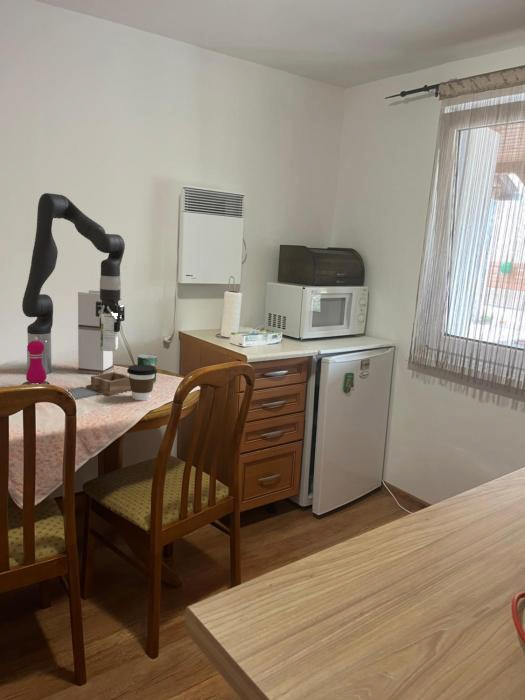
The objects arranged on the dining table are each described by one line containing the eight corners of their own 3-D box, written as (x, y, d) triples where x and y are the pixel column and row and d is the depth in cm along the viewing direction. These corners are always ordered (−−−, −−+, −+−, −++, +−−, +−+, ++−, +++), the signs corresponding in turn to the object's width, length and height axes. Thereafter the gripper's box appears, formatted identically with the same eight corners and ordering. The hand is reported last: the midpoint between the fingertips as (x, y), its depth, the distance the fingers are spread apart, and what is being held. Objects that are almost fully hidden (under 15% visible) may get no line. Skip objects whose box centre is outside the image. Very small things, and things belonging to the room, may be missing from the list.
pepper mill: (50, 386, 209) (49, 336, 205) (40, 391, 202) (39, 339, 198) (32, 384, 209) (31, 334, 205) (22, 389, 202) (21, 337, 198)
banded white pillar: (113, 369, 240) (114, 292, 233) (103, 375, 230) (103, 294, 223) (89, 367, 242) (89, 290, 235) (78, 372, 232) (78, 292, 225)
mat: (56, 393, 200) (56, 392, 200) (81, 388, 209) (81, 386, 209) (74, 400, 194) (74, 398, 194) (99, 394, 202) (99, 392, 202)
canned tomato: (133, 381, 223) (133, 355, 221) (145, 377, 230) (145, 353, 228) (147, 384, 220) (148, 358, 217) (160, 381, 226) (160, 355, 224)
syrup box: (103, 347, 209) (103, 311, 206) (118, 348, 210) (118, 312, 207) (100, 350, 204) (100, 313, 201) (116, 351, 204) (116, 314, 201)
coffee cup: (124, 394, 204) (125, 364, 201) (153, 393, 208) (154, 363, 205) (128, 403, 194) (129, 371, 191) (158, 401, 198) (159, 370, 196)
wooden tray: (86, 388, 209) (86, 376, 208) (114, 382, 220) (115, 370, 219) (109, 396, 201) (109, 383, 200) (137, 389, 212) (138, 377, 211)
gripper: (89, 286, 203) (89, 328, 206) (114, 290, 195) (114, 334, 198) (105, 285, 209) (105, 326, 212) (130, 289, 201) (129, 332, 204)
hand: (109, 330), depth 205 cm, fingers closed on syrup box, 8 cm apart
